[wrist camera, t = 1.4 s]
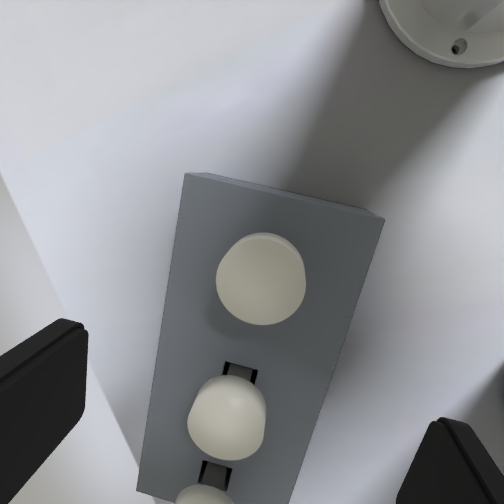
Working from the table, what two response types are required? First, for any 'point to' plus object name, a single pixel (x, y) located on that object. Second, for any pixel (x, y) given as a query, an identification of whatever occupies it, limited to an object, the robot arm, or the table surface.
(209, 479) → the knob
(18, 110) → the table surface
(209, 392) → the knob middle
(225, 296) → the knob
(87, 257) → the table surface
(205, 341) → the control panel
